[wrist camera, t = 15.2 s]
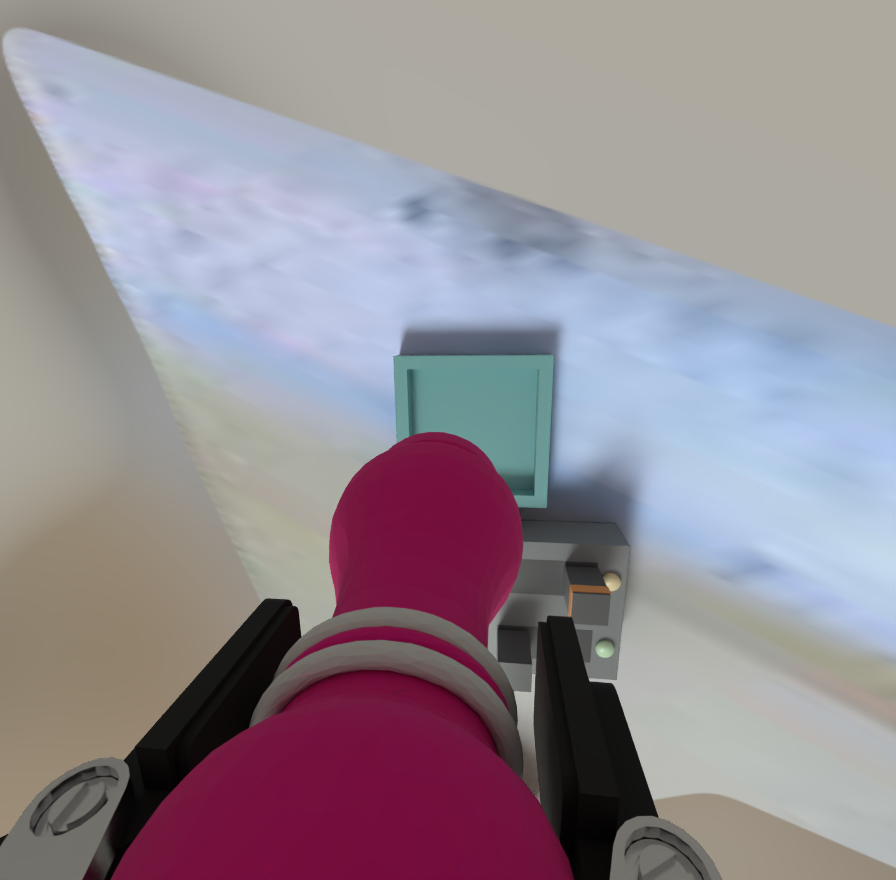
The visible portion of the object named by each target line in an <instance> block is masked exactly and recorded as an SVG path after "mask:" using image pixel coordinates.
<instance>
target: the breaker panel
mask: <svg viewBox="0 0 896 880" xmlns="http://www.w3.org/2000/svg"><path fill="white" fill-rule="evenodd" d="M521 522H522V533H523V554H522V561H521V565H520V568H519V572H518V576H517V579H516V581H515V583H514V585H513V588H512V590H511V592H510V594H509V596H508V599H507V600H506V602H505V603H504V605H503V606H502V608H501V609H500V611H499V612H498V613H497V615H496V616H495V618H494V619H493V620H492V622H491V623H490V625H489V630H488V650H489V651H490V652H491V654H492V655H493V656H494V657H495V658H496V659H497V629H498V630H513V631H529V640H530V649H531V658H532V674H536V655H537V633H538V622H546V621H547V616H548V615H550V616H566V617H568V610H567V606H566V602H565V598H564V594H563V591H564V574H565V566H575V567H596V568H599V570H600V572H601V574H602V577H603V579H604V581H605V583H606V586H608V588H609V590H610V592H611V599H610V610H609V621H608V626H599V625H583V624H574V626H575V629H576V633H577V637H578V641H579V644H580V648H581V652H582V656H583V660H584V663H585V667H586V671H587V675H588V678H597V679H610V680H617V671H618V661H619V651H620V641H621V631H622V621H623V611H624V601H625V591H626V581H627V571H628V561H629V551H630V545H629V544H628V542H627V541H626V539H625V537H624V536H623V534H622V533H621V531H620V530H619V528H618V526H617V525H616V523H592V522H564V521H536V520H521Z"/></svg>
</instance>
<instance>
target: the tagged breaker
mask: <svg viewBox="0 0 896 880" xmlns="http://www.w3.org/2000/svg"><path fill="white" fill-rule="evenodd" d="M563 594H564V598H565V602H566V606H567V610H568V617H572V619H573V622H574V624H583V625H599V626H608V621H609V610H610V599H611V592H610V590H609V588H608V586H606V583H605V581H604V579H603V577H602V574H601V572H600V570H599V568H596V567H575V566H565V574H564V591H563Z"/></svg>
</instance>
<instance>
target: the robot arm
mask: <svg viewBox="0 0 896 880" xmlns="http://www.w3.org/2000/svg"><path fill="white" fill-rule="evenodd" d="M300 638H301V629H300V620H299V611H298V608H297V607H296V606H293V605H292V602H291V601H290V600H286V599H269V598H268V599H265V600H264V601H263V602H262V603H261V604H260V605H259V606H258V607H257V609H256V610H255V611H254V612H253V613H252V614H251V615H250V616H249V618H248V619H247V620H246V621H245V622H244V623H243V625H242V626H241V627H240V628H239V629H238V630H237V631H236V632H235V634H234V635H233V636H232V637H231V638H230V639H229V640H228V642H227V643H226V644H225V645H224V646H223V647H222V648H221V650H220V651H219V652H218V653H217V654H216V655H215V656H214V658H213V659H212V660H211V661H210V662H209V663H208V664H207V665H206V667H205V668H204V669H203V670H202V671H201V672H200V673H199V675H198V676H197V677H196V678H195V679H194V680H193V681H192V683H191V684H190V685H189V686H188V687H187V688H186V689H185V691H184V692H183V693H182V694H181V695H180V696H179V697H178V698H177V699H176V701H175V702H174V703H173V704H172V705H171V706H170V707H169V709H168V710H167V711H166V712H165V713H164V714H163V715H162V717H161V718H160V719H159V720H158V721H157V722H156V723H155V725H154V726H153V727H152V728H151V729H150V730H149V731H148V732H147V734H146V735H145V736H144V737H143V738H142V739H141V741H140V742H139V743H138V744H137V745H136V746H135V748H134V749H133V750H132V752H131V753H130V754H129V755H128V756H127V757H126V758H125V759H124V761H123V760H121V759H117V758H113V757H110V758H99V759H96V760H93V761H89V762H86V763H83V764H81V765H79V766H77V767H75V768H73V769H71V770H69V771H67V772H66V773H64V774H63V775H61V776H60V777H58V778H57V779H55V780H54V781H52V782H51V783H50V784H49V785H48V786H47V787H45V788H44V789H43V790H42V791H41V792H40V793H39V794H38V795H37V796H36V797H35V798H34V799H33V800H32V802H31V803H30V804H29V805H28V807H27V808H26V809H25V810H24V812H23V813H22V815H21V816H20V818H19V819H18V821H17V822H16V824H15V825H14V827H13V828H12V830H11V831H10V833H9V834H7V835H5V836H3V837H1V838H0V880H110V879H111V878H112V876H113V874H114V872H115V870H116V868H117V866H118V865H119V863H120V861H121V859H122V857H123V855H124V854H125V852H126V851H127V849H128V848H129V847H130V845H131V844H132V842H133V841H134V840H135V838H136V837H137V835H138V834H139V833H140V831H141V830H142V828H143V827H144V826H145V824H146V823H147V822H148V820H149V819H150V817H151V816H152V815H153V813H154V812H155V811H156V809H157V808H158V807H159V805H160V804H161V802H162V801H163V800H164V799H165V798H166V797H167V796H168V795H169V794H170V793H171V792H172V791H173V790H174V789H175V788H176V786H177V785H178V784H179V783H180V782H181V781H182V780H183V779H184V778H185V777H186V776H187V775H188V774H189V773H190V772H191V771H192V770H193V769H194V768H195V767H196V766H197V765H198V764H199V763H200V762H201V761H203V760H204V759H205V758H206V757H207V756H208V755H209V754H210V753H211V752H212V751H213V750H215V749H216V748H218V747H219V746H221V745H223V744H224V743H226V742H227V741H229V740H230V739H232V738H233V737H235V736H236V735H238V734H239V733H241V732H243V731H244V730H246V729H248V728H249V726H250V722H251V718H252V715H253V712H254V710H255V708H256V706H257V704H258V702H259V701H260V699H261V697H262V695H263V693H264V692H265V691H266V690H267V689H268V687H269V686H270V685H271V684H272V682H273V679H274V676H275V673H276V671H277V669H278V667H279V665H280V663H281V661H282V659H283V658H284V656H285V655H286V653H287V652H288V651H289V650H290V649H291V647H292V646H293V645H294V644H295V643H296V642H297V641H298V640H299V639H300ZM534 737H535V747H536V758H537V769H538V780H539V791H540V802H541V807H542V809H543V811H544V813H545V815H546V816H547V818H548V820H549V822H550V824H551V826H552V828H553V830H554V832H555V834H556V836H557V838H558V840H559V842H560V844H561V846H562V848H563V850H564V851H565V853H566V855H567V857H568V859H569V862H570V866H571V870H572V873H573V877H574V880H722V878H721V876H720V874H719V872H718V870H717V868H716V866H715V864H714V862H713V860H712V859H711V858H710V856H709V855H708V854H707V853H706V851H705V850H704V849H703V848H702V846H701V845H700V844H699V843H698V842H697V841H696V840H695V839H694V838H692V837H691V836H690V835H689V834H688V833H687V832H685V831H684V830H683V829H681V828H680V827H678V826H676V825H674V824H673V823H671V822H669V821H667V820H664V819H660V818H659V817H658V814H657V811H656V808H655V805H654V802H653V799H652V796H651V793H650V790H649V787H648V784H647V781H646V778H645V775H644V772H643V769H642V766H641V763H640V760H639V757H638V754H637V751H636V748H635V745H634V742H633V739H632V736H631V733H630V730H629V727H628V724H627V721H626V718H625V715H624V712H623V709H622V706H621V703H620V700H619V697H618V694H617V692H616V689H615V687H614V685H613V684H612V683H602V682H589V678H588V675H587V671H586V667H585V663H584V660H583V656H582V652H581V648H580V644H579V641H578V637H577V633H576V629H575V626H574V622H573V619H572V617H566V616H550V615H548V616H547V621H546V622H538V633H537V655H536V677H535V699H534Z"/></svg>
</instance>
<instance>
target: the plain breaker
mask: <svg viewBox="0 0 896 880" xmlns="http://www.w3.org/2000/svg"><path fill="white" fill-rule="evenodd" d="M497 660H498V662H499V664H500V665H501V667H502V669H503V670H504V672H505V673H506V676H507V678H508V680H509V682H510V684H511V687H512V689H513V691H524V692H531V680H532V658H531V649H530V640H529V631H513V630H498V629H497Z"/></svg>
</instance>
